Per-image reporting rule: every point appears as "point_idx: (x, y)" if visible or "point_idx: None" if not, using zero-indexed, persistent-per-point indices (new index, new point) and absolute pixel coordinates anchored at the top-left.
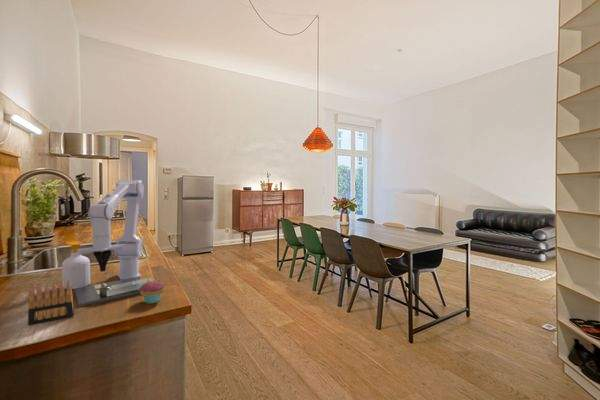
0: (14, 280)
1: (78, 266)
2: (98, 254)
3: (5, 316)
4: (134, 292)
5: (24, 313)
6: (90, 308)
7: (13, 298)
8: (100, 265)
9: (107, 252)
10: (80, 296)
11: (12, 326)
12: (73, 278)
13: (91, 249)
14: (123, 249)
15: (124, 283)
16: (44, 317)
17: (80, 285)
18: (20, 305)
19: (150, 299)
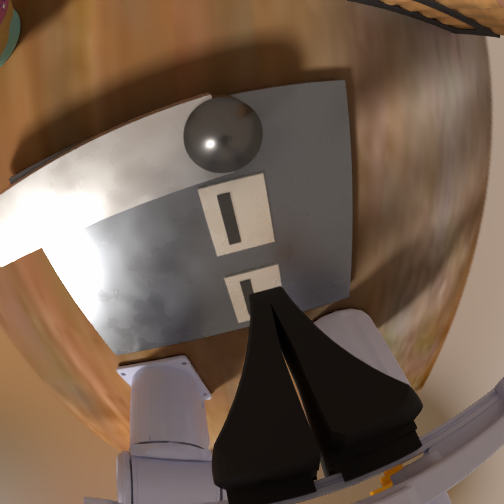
0: (422, 373)
1: None
2: (378, 432)
3: (491, 144)
4: (66, 149)
5: (468, 137)
6: (282, 29)
7: (459, 277)
8: (305, 323)
9: (267, 480)
10: (338, 187)
11: (479, 47)
12: (363, 341)
13: (484, 459)
14: (94, 500)
15: (108, 202)
16: (434, 20)
17: (329, 321)
18: (465, 217)
19: None
